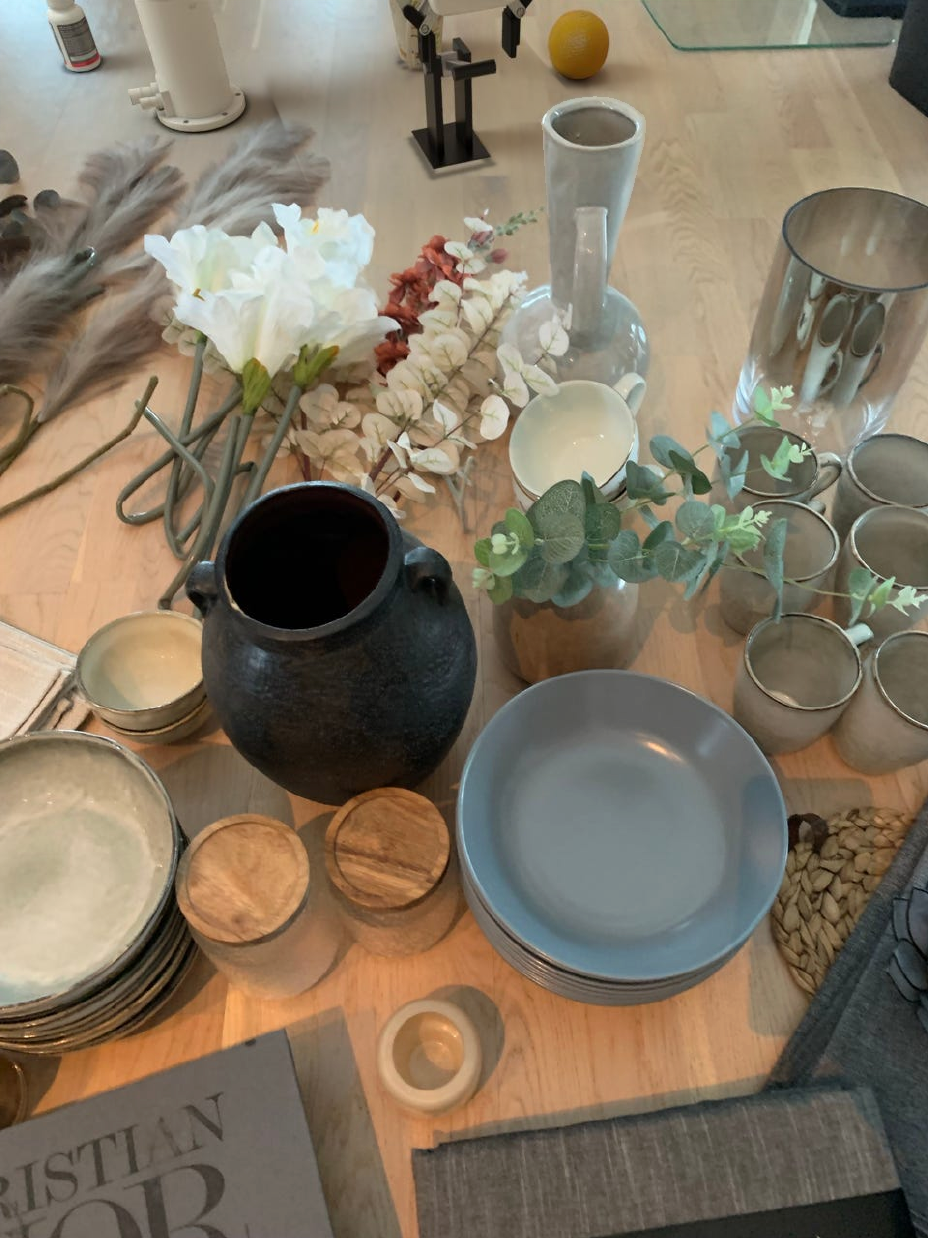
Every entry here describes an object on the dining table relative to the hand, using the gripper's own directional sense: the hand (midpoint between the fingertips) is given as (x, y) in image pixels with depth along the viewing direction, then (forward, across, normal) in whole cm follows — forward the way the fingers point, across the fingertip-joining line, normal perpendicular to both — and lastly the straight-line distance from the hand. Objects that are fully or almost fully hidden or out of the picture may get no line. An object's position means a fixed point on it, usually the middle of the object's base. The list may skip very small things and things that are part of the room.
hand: (469, 60), depth 99 cm
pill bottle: (+17, -45, +54) cm, 72 cm away
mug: (+16, +3, +33) cm, 37 cm away
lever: (+4, 0, +4) cm, 6 cm away
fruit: (+16, +24, +22) cm, 37 cm away
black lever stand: (+16, 0, +9) cm, 18 cm away
